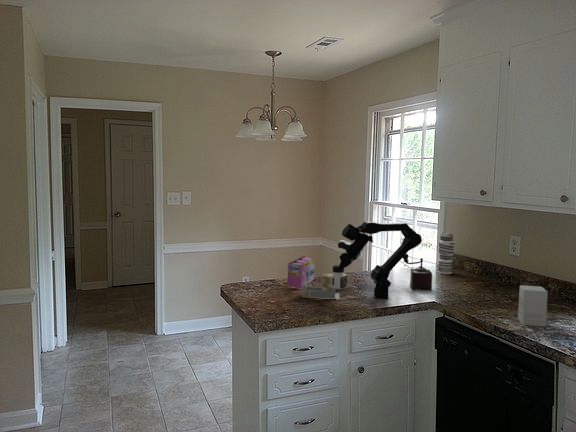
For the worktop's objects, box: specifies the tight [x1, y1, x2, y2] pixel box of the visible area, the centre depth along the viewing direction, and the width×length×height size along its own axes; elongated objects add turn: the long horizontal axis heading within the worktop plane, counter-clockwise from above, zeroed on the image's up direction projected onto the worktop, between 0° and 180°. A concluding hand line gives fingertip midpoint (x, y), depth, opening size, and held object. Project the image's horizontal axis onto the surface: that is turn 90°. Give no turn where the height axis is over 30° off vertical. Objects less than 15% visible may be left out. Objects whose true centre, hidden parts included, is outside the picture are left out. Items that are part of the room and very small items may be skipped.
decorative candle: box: [437, 232, 455, 275], centre depth 291 cm, size 9×9×25 cm
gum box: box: [287, 256, 316, 289], centre depth 258 cm, size 24×8×14 cm, turn 157°
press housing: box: [301, 281, 340, 301], centre depth 233 cm, size 18×10×7 cm, turn 83°
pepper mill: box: [402, 253, 433, 291], centre depth 253 cm, size 16×11×18 cm
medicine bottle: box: [332, 264, 348, 290], centre depth 251 cm, size 7×7×12 cm
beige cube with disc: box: [321, 273, 334, 291], centre depth 232 cm, size 6×6×10 cm
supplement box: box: [517, 285, 549, 328], centre depth 196 cm, size 9×9×15 cm
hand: (341, 267), depth 234 cm, fingers open, 9 cm apart
